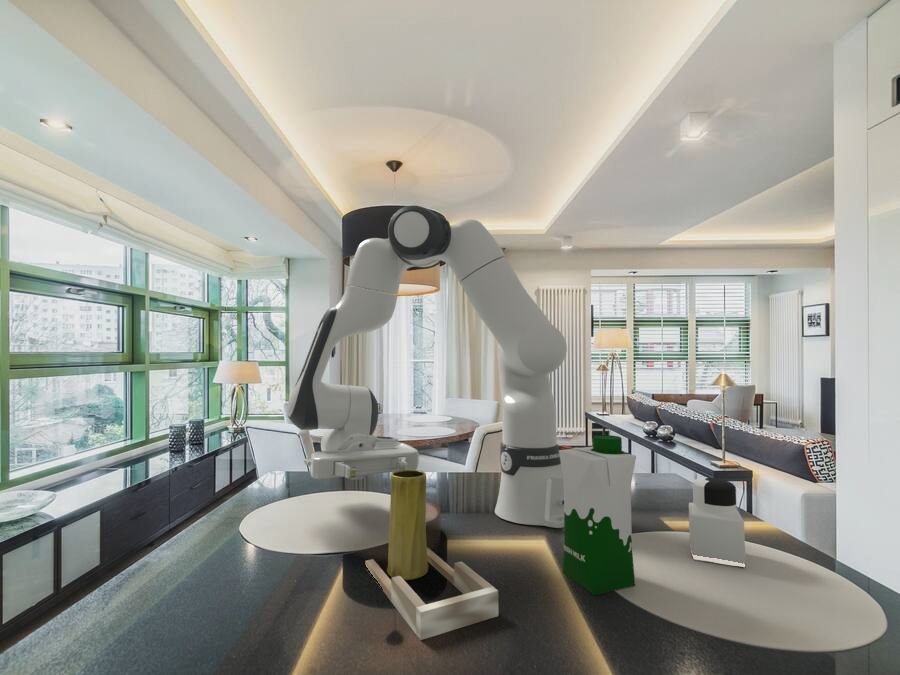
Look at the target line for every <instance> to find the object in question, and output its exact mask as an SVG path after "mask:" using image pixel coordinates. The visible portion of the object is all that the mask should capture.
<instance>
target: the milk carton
mask: <svg viewBox="0 0 900 675" xmlns="http://www.w3.org/2000/svg"><path fill="white" fill-rule="evenodd" d="M622 442H623V441H622V437H620V436H618V435H608V434H596V435H593V436H592V446H586V447H572V449H567V450H559V455H560V461H561V467H562V473H563V481H564V527H563V533H564V534H563V536H564V539H563V541H564V542H563V559H562V561H563V564H562V573H563V575H565V576H566V577H568V578H569V579H571V580H572V581H574V582H575V583H576V584H577V585H579V586H581V587H582V588H584V589H585V591H587V592H588V593H591V594H592V595H593V596H597V595H601V594H606V593H610V592H614V591H619V590H623V589H627V588H631V587H635V586H636V579H635V567H634V558H633V557H634V554H633V536H632V535H633V534H632V533H633V532H632V489H631V488H632V482H633V481H632V480H633V475H634V470H635V464H636V459H637V456H636V455H635V454H631V453H630V452H627V451H625V450H622V448H623V446H622V444H623V443H622Z"/></svg>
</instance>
